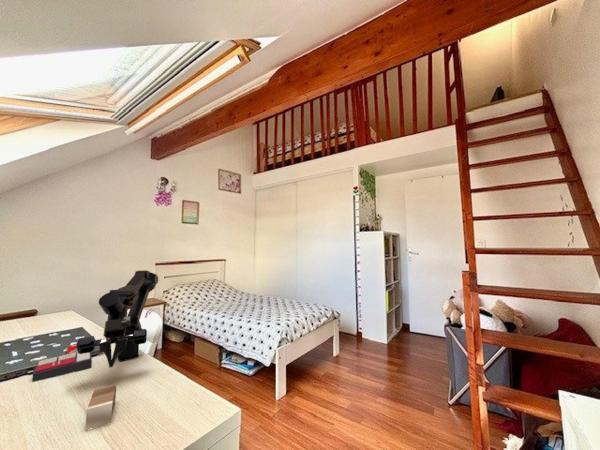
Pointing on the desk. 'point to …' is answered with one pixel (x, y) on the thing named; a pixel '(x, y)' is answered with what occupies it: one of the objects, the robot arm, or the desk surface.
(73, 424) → the desk surface
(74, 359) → the calculator
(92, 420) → the beige tall block
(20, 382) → the desk surface
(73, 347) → the race car
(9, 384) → the desk surface
